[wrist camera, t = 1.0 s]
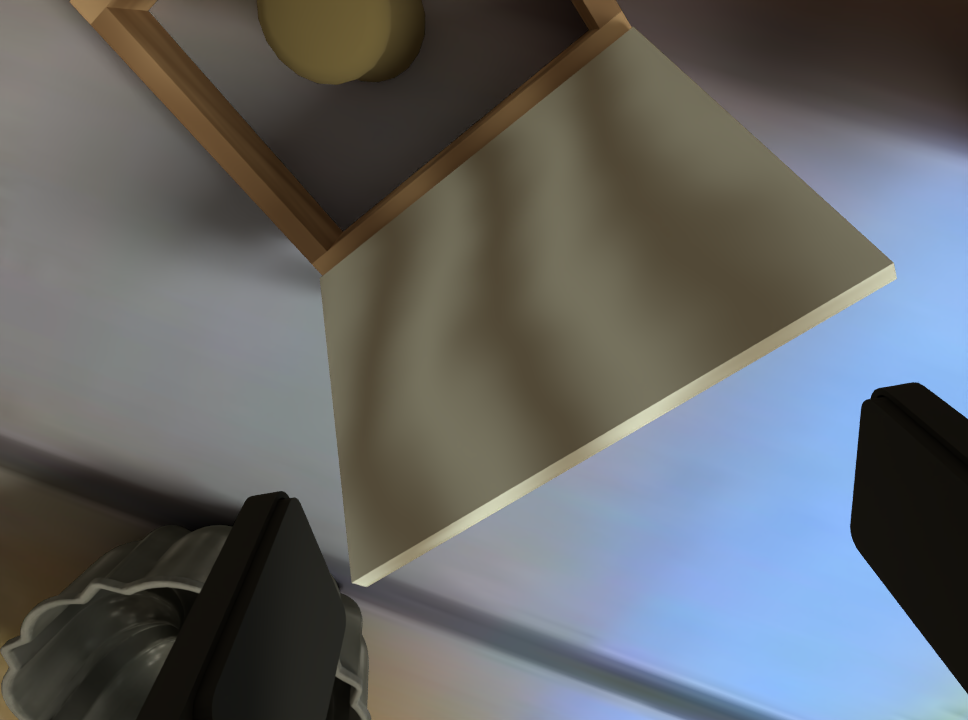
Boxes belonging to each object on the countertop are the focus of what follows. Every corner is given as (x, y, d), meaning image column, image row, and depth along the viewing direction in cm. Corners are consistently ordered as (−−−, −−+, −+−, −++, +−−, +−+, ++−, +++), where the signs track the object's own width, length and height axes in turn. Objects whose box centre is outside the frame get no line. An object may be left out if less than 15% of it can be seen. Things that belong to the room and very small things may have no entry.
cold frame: (407, -324, 27) (207, -1125, 8) (694, 158, 36) (903, 282, 17) (115, 6, 33) (-376, -40, 14) (423, 349, 42) (364, 593, 23)
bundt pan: (56, 464, 47) (-47, 562, 38) (403, 507, 48) (382, 612, 39) (103, 688, 59) (33, 802, 50) (380, 717, 60) (360, 834, 51)
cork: (446, -3, 32) (423, -22, 23) (393, 104, 35) (352, 128, 25) (340, -74, 31) (269, -127, 21) (293, 42, 34) (209, 43, 24)
